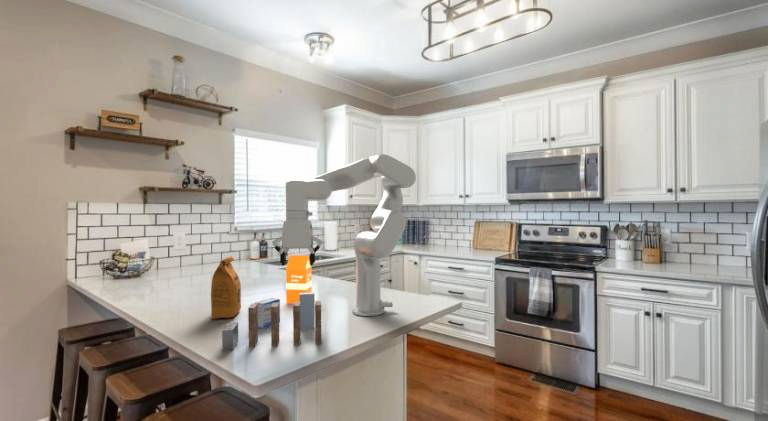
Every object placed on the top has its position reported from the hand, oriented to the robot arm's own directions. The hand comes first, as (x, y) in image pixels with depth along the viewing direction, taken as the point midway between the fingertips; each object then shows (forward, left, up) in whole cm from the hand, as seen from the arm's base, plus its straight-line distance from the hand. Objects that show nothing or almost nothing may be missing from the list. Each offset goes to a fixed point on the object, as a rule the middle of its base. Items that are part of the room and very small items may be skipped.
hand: (297, 264), depth 134 cm
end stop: (+19, +15, -22) cm, 33 cm away
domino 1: (+12, +15, -22) cm, 29 cm away
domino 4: (-3, +2, -22) cm, 22 cm away
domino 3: (-1, +15, -22) cm, 26 cm away
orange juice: (+2, -35, -22) cm, 41 cm away
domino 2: (+6, +15, -22) cm, 27 cm away
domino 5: (-7, +15, -22) cm, 27 cm away
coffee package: (+28, -18, -22) cm, 39 cm away
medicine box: (+11, -4, -22) cm, 25 cm away
